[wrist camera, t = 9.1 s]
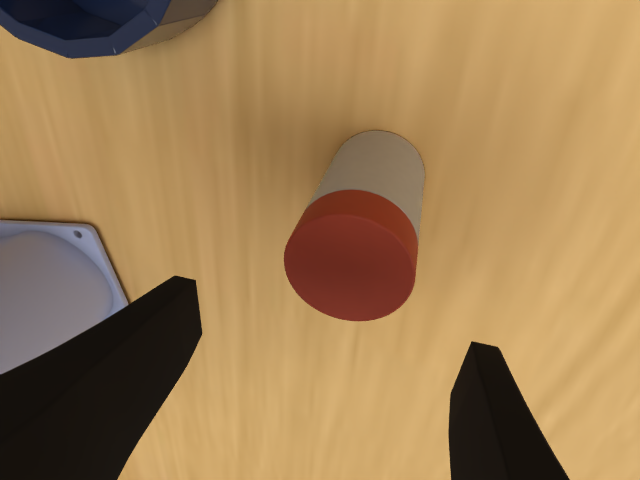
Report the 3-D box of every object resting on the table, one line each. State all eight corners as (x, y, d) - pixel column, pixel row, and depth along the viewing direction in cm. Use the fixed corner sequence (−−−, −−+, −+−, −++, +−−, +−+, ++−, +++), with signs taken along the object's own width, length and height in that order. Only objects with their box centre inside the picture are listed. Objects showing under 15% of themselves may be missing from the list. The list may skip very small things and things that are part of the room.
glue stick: (335, 214, 20) (292, 315, 14) (328, 130, 18) (273, 212, 12) (423, 216, 19) (413, 327, 13) (426, 129, 17) (416, 217, 11)
